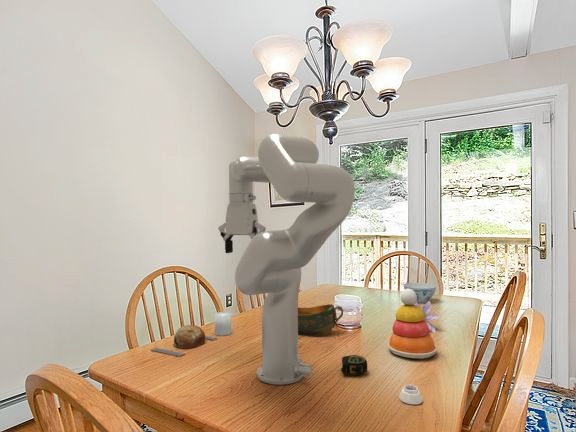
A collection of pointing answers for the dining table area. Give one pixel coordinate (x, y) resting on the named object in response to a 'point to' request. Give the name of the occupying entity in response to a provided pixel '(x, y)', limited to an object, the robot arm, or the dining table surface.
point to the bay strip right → (210, 338)
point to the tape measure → (354, 365)
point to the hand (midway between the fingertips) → (241, 253)
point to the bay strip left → (168, 352)
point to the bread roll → (189, 337)
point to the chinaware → (421, 290)
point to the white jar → (410, 395)
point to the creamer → (317, 320)
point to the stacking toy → (411, 330)
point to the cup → (223, 323)
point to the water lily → (429, 316)
